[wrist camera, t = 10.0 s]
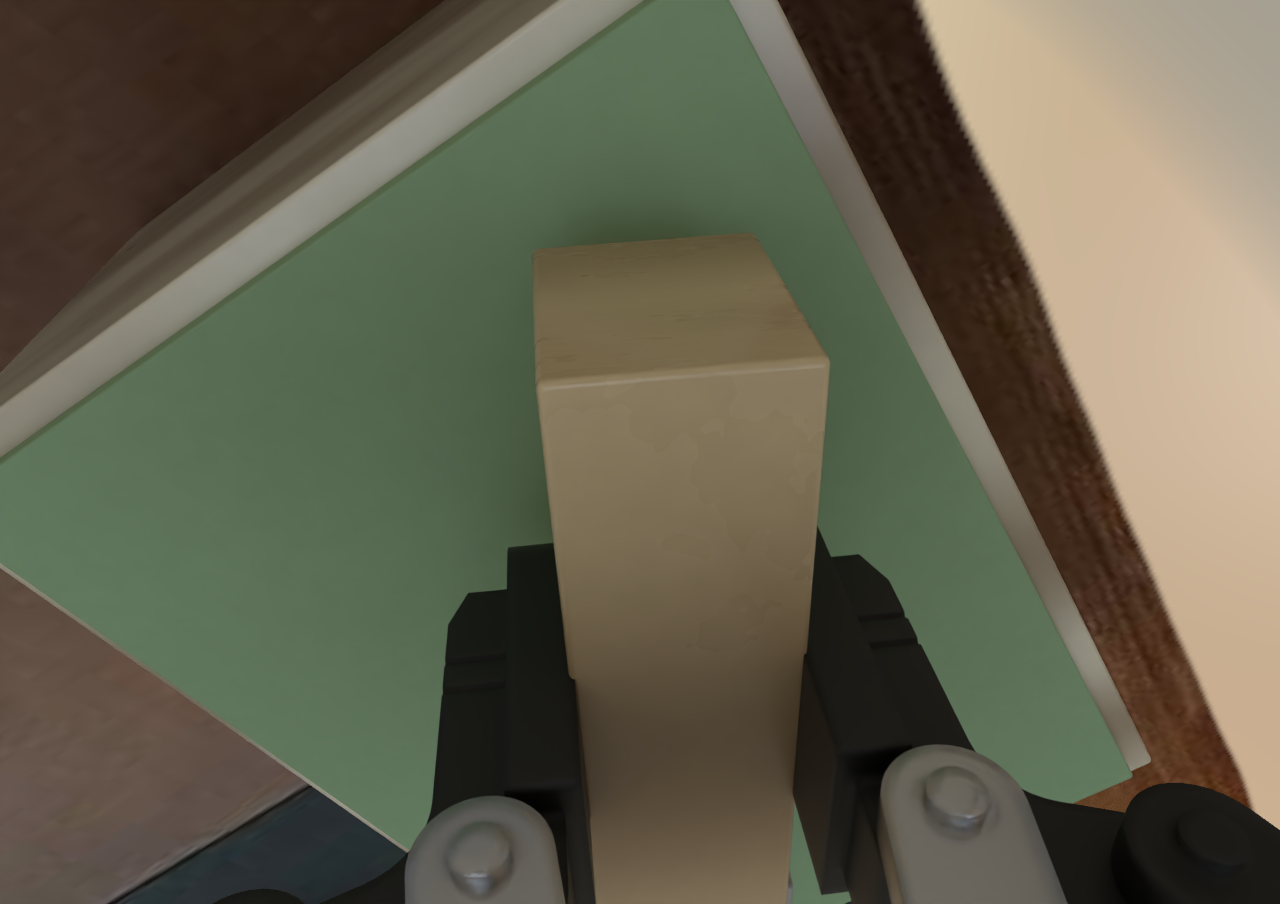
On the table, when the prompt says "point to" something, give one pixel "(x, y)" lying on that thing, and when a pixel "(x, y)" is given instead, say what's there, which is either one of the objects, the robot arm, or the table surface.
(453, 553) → the green rectangular slab
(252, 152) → the stand
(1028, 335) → the table surface
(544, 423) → the fork
